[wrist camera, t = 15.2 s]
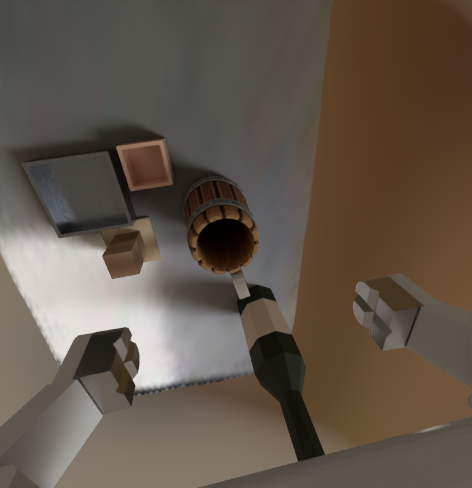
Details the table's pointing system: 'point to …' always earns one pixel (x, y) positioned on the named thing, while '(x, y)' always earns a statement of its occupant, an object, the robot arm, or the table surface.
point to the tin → (82, 192)
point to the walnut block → (125, 255)
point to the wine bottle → (279, 366)
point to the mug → (220, 228)
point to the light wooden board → (146, 233)
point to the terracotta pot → (146, 164)
